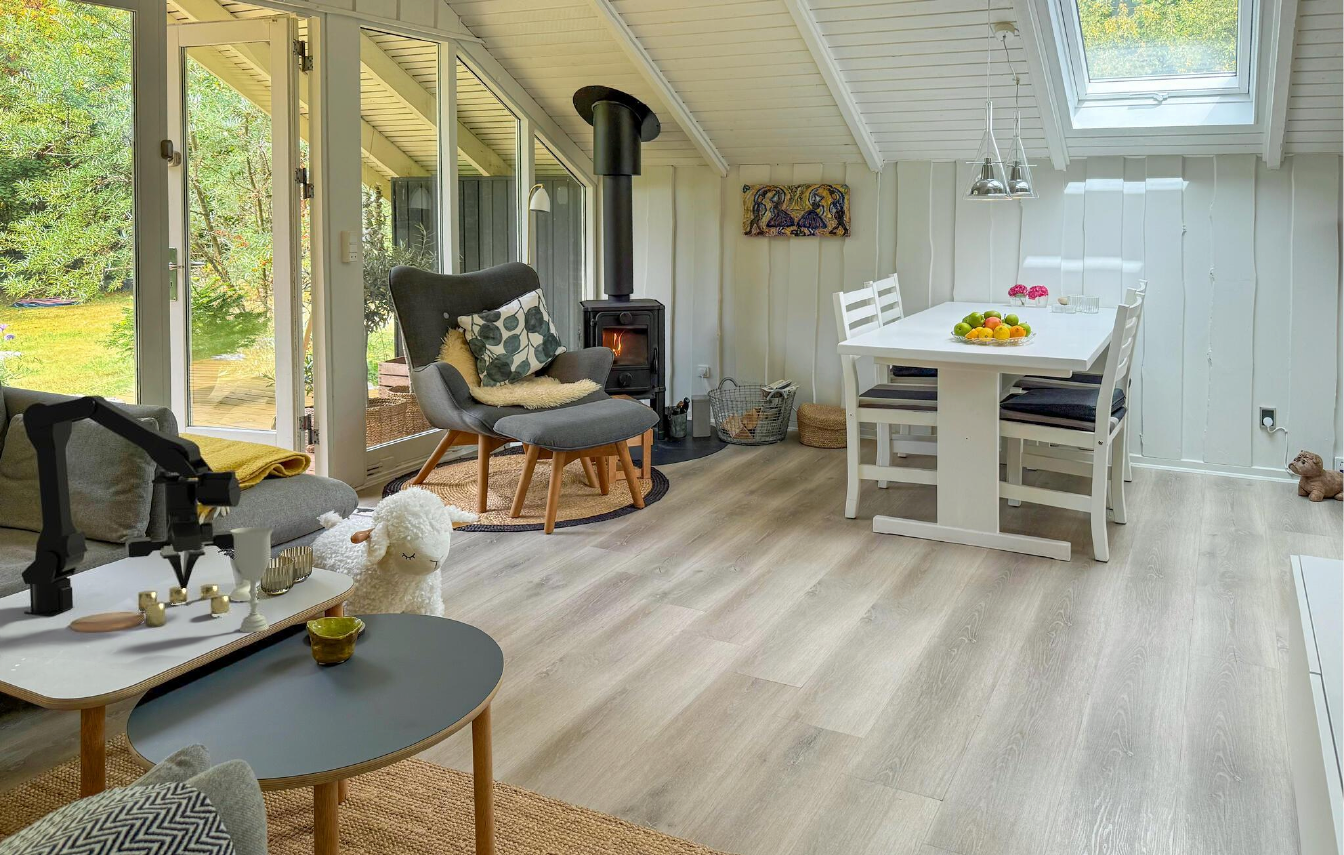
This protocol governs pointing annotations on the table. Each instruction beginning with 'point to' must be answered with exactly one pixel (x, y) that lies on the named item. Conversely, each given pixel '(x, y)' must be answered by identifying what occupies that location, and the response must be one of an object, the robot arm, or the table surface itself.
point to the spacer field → (178, 595)
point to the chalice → (252, 568)
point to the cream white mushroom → (241, 591)
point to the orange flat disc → (107, 622)
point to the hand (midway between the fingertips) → (183, 588)
